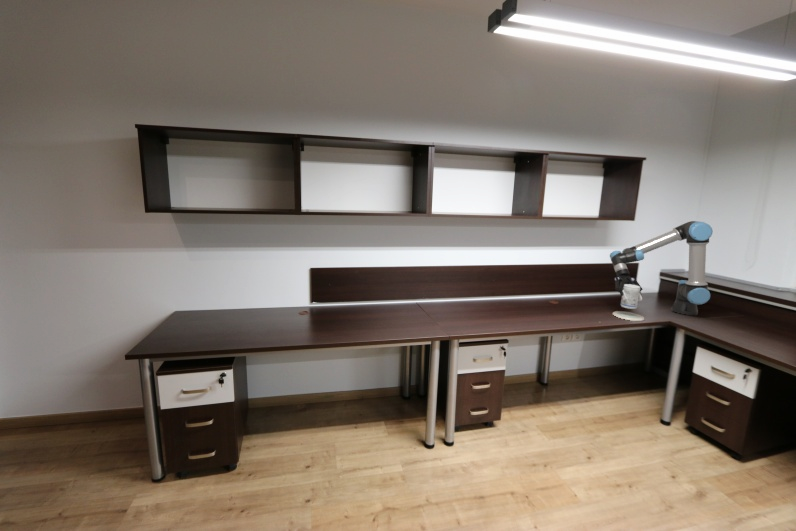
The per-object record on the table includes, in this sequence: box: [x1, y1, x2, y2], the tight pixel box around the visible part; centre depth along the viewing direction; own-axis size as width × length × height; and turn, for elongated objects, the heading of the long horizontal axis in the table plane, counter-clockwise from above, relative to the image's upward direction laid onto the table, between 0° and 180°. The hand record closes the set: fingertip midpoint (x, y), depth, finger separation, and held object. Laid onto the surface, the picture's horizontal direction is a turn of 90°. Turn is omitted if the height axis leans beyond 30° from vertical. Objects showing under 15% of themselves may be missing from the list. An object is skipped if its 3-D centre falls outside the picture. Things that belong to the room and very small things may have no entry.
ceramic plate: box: [612, 310, 645, 322], centre depth 247 cm, size 18×18×1 cm
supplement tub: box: [620, 283, 641, 310], centre depth 245 cm, size 10×10×15 cm
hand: (633, 299), depth 242 cm, fingers closed on supplement tub, 9 cm apart
